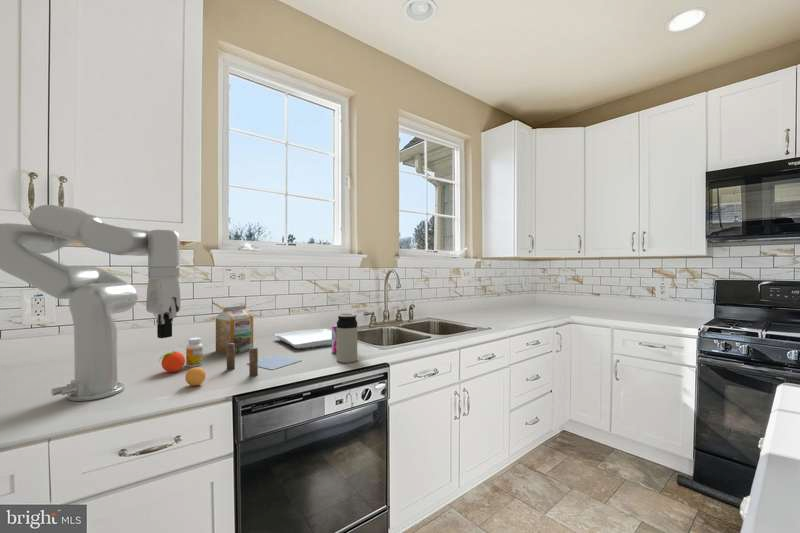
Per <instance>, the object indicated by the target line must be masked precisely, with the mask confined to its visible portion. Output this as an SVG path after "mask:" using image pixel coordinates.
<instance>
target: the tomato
mask: <svg viewBox="0 0 800 533" xmlns="http://www.w3.org/2000/svg"><path fill="white" fill-rule="evenodd" d="M160 360H161V368H162V369H163V370H164V371H166V372H167V373H176V372H178V371H180V370H181V369H182V368H183V367H184V366H185V365H186V357H185V356H184V354H183V353H181V352H179V351H174V350H173V351H170V352H167V353H164V354H163V355H162V356H161V357H160V358H159V360H158V362H160Z"/></svg>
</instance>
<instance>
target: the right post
mask: <svg viewBox="0 0 800 533" xmlns="http://www.w3.org/2000/svg"><path fill="white" fill-rule="evenodd" d="M258 350H259V348H258V347H253V348H250V349H249V351H248V354H249V356H248V358H249V359H248V360H249V362H248V363H249V364H248V366H249V367H248V368H249V376H250V377H255V376H256V377H257V376H258V375H259V370H258V369H259V367H258V360H259V355H258V354H259V353H258V352H259V351H258Z"/></svg>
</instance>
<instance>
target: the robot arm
mask: <svg viewBox="0 0 800 533" xmlns="http://www.w3.org/2000/svg"><path fill="white" fill-rule="evenodd" d="M28 220H29V223H30V224H22V223H10V222H9V223H6V222H5V223H0V270H1V271H3V272H4V273H6V274H9V275H11V276H12V277H14V278H17V279H19V280H21V281H24V282H25V283H27V284H28V285H30V286H32V287H34V288H35V289H37V290H40V291H41V292H43V293H45V294H47V295H49V296H51V297H53V298H56V299H61V300H68V307H69V310H70V314H71V318H72V322H73V324H72V325H73V334H74V335H73V342H74V343H73V344H74V351H73V353H74V354H73V355H74V379H72V380H70V383H67V384H66V385H64V386H58V387H53V388H51V390H50V391H51V392H50V393H51V396H58V395H61V396H65V395H67V396H66V398H67V400H69V401H74V402H84V401H93V400H94V401H95V400H100V399H103V398H108V397H111V396H114V395H117V394H119V393H120V392H123V391H124V389H125V384H124V383H123V382H118V328H117V325H116V323H115V320H114V319H113V317H112V315H115V314H121V313H124V312H127V311H130V310H132V309H133V308H134V307H135V306H136V304H137V303H138V298H139V296H138V293H137V291H136V289H135V287H134V286H132V285H131V284H130V283H129V282H127V281H126V280H123V279H122V278H119V277H117V276H115V275H113V273H110V272H108V271H106V270H104V269H102V268H100V267H96V266H89V265H67V264H66V265H65V264H63V263H60V262H58V261H56V260H54V259H53V258H51V257H49V256H47V255H44V254H51V253H53V252H57V251H58V250H61V249H63V248H64V247H66V246H68V245H70V244H71V243H73V242H76V243H79V244H81V245H83V246H85V247H86V248H89V249H91V250H95V251H98V252H103V253H107V254H110V255H115V256H133V257H134V256H135V257H139V256H140V257H141V256H142V257H145V256H146V257H147V266H148V267H147V273H148V274H147V277H148V278H147V279H148V281H147V288H146V304H145V305H146V307H145V308H146V311H147V312H148V313H149V314H153V316H154V317H155V319H156V320H155V321H156V333H157V334H156V335H157V336H156V337H157V338H158V339H166V338H171V337H173V322H174V319H175V318H177V317H178V315H177V313H179V312H180V311H181V289H180V288H181V287H180V281H179V279H180V235H179V233H178V231H175V230H173V229H171V230H170V229H153V230H145V229H139V228H138V229H137V228H129V227H121V226H116V225H115V226H114V225H111V224H107V223H104V222H103V221H102V220H101V218H100V217H98V216H96V215H93V214H89V213H87V212H86V211H84V210H81V209H79V208H74V207H69V206H67V207H66V206H61V205H54V204H43V205H39V206H36V207H34V208H33V209H32V210H31V211H30V213H29V215H28Z"/></svg>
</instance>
